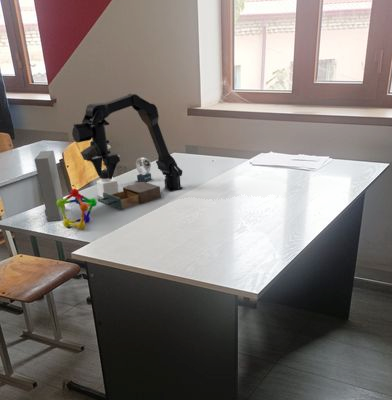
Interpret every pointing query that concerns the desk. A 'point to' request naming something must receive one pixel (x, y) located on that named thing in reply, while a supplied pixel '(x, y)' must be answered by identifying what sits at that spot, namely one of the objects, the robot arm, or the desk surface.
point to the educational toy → (83, 208)
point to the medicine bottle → (106, 184)
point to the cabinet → (144, 191)
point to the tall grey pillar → (49, 184)
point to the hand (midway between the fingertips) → (105, 177)
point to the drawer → (116, 199)
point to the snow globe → (142, 176)
